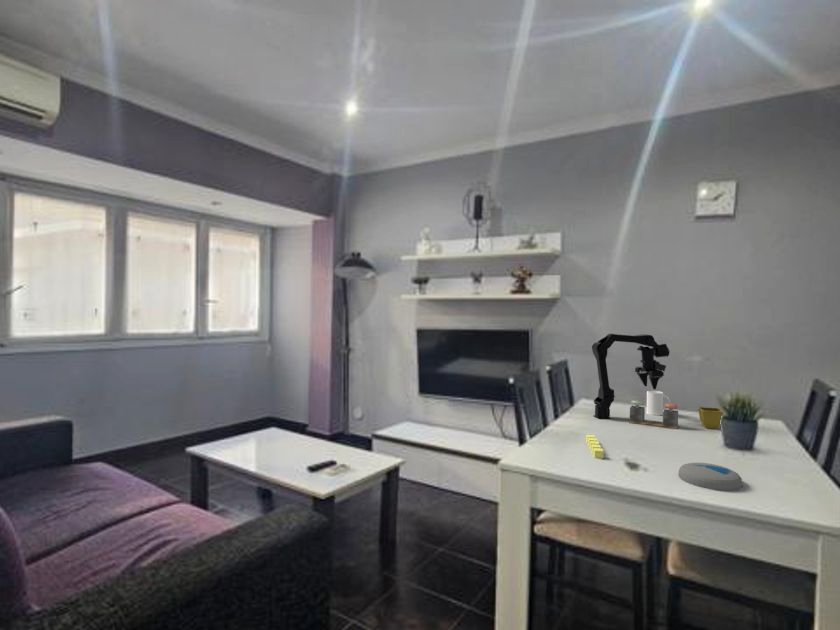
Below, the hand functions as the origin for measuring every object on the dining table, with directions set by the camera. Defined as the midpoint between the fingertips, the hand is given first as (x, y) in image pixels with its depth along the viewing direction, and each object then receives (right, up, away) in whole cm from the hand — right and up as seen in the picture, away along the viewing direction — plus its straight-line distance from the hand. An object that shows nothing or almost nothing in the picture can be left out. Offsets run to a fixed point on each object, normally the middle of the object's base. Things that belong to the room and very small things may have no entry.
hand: (650, 387), depth 250 cm
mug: (+9, -16, +9) cm, 20 cm away
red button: (+1, -11, -18) cm, 21 cm away
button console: (-5, -16, -14) cm, 22 cm away
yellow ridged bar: (-48, -17, -56) cm, 75 cm away
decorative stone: (-23, -18, -89) cm, 94 cm away
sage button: (-11, -11, -10) cm, 18 cm away
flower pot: (+20, -17, -19) cm, 32 cm away
